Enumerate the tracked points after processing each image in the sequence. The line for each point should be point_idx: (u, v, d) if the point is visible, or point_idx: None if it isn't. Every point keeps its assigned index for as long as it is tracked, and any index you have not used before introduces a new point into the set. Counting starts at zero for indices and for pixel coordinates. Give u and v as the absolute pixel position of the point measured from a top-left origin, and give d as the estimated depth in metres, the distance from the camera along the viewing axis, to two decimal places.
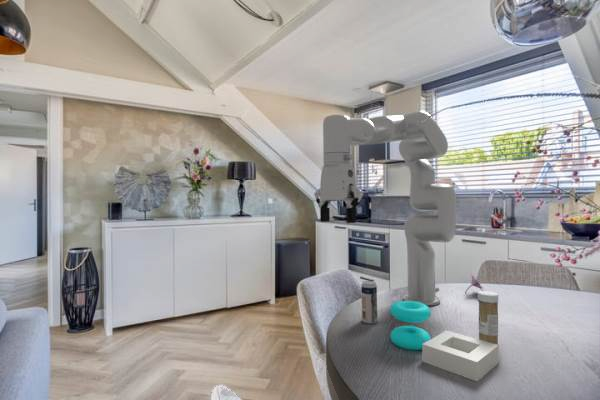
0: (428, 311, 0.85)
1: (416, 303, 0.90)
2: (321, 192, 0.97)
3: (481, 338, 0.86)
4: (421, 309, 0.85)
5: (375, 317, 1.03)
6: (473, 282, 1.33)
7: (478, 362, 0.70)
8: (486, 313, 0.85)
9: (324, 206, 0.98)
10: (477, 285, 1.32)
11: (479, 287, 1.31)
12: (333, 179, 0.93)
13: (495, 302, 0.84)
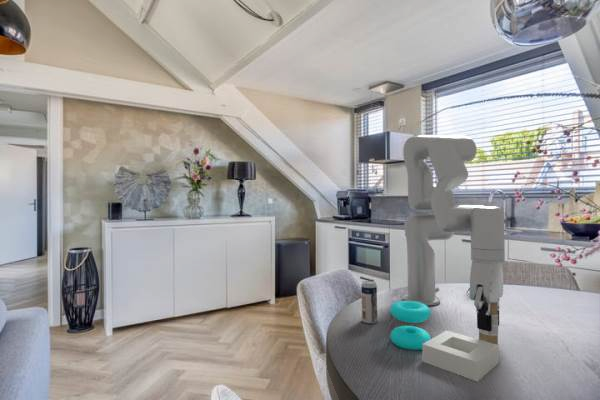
0: (428, 311, 0.85)
1: (416, 303, 0.90)
2: (490, 294, 0.82)
3: (481, 338, 0.86)
4: (421, 309, 0.85)
5: (375, 317, 1.03)
6: None
7: (478, 362, 0.70)
8: None
9: None
10: None
11: None
12: (499, 277, 0.85)
13: (495, 302, 0.84)
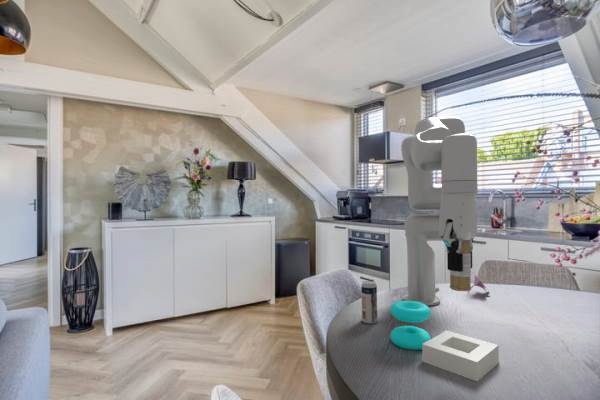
0: (428, 311, 0.85)
1: (416, 303, 0.90)
2: (461, 229, 0.74)
3: (452, 281, 0.78)
4: (421, 309, 0.85)
5: (375, 317, 1.03)
6: (476, 282, 1.33)
7: (478, 362, 0.70)
8: None
9: None
10: (480, 285, 1.32)
11: (482, 287, 1.32)
12: (472, 212, 0.77)
13: (467, 240, 0.76)
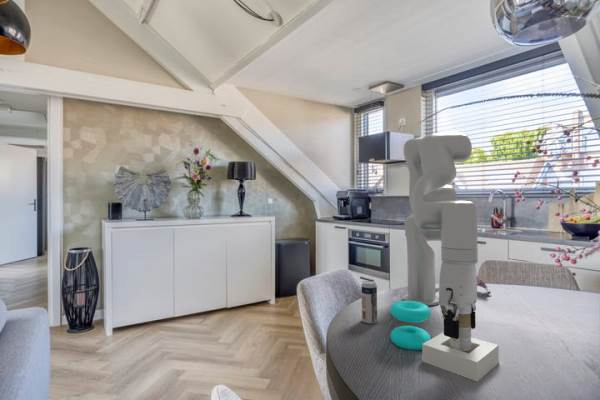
0: (428, 311, 0.85)
1: (416, 303, 0.90)
2: (461, 299, 0.74)
3: None
4: (421, 309, 0.85)
5: (375, 317, 1.03)
6: (477, 282, 1.33)
7: (478, 362, 0.70)
8: None
9: None
10: (481, 285, 1.32)
11: (483, 287, 1.32)
12: (472, 279, 0.77)
13: (467, 314, 0.76)
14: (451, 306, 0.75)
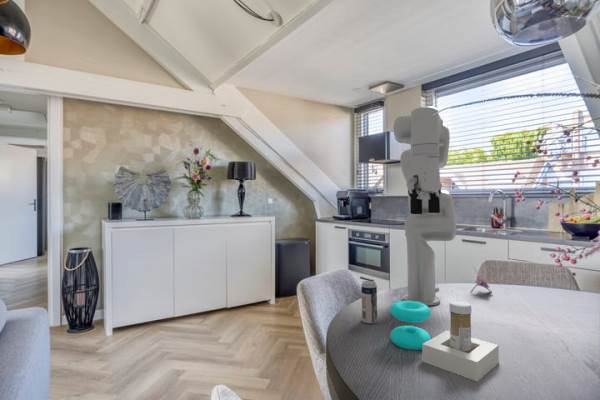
0: (428, 311, 0.85)
1: (416, 303, 0.90)
2: (424, 182, 0.92)
3: None
4: (421, 309, 0.85)
5: (375, 317, 1.03)
6: (479, 282, 1.33)
7: (478, 362, 0.70)
8: (458, 326, 0.77)
9: None
10: (483, 285, 1.33)
11: (485, 287, 1.32)
12: (435, 171, 0.95)
13: (467, 314, 0.76)
14: (416, 189, 0.93)
